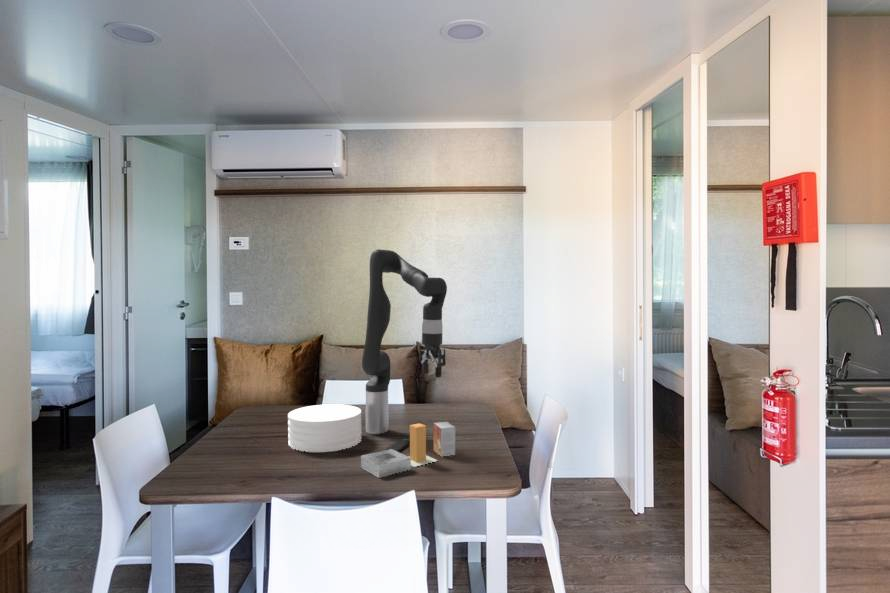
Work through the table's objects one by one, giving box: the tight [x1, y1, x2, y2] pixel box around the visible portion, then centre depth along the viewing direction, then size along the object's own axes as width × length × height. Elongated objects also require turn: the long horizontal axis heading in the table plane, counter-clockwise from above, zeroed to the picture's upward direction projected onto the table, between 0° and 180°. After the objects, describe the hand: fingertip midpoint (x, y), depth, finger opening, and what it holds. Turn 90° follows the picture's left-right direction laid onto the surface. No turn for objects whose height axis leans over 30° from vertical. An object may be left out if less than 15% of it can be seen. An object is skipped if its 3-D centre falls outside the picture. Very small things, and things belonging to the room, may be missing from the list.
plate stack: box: [287, 403, 363, 453], centre depth 212 cm, size 28×28×12 cm
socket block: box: [360, 449, 412, 479], centre depth 180 cm, size 12×12×4 cm
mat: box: [407, 454, 439, 468], centre depth 188 cm, size 10×10×1 cm
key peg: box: [409, 422, 427, 462], centre depth 187 cm, size 4×4×12 cm
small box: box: [433, 421, 456, 458], centre depth 195 cm, size 8×6×10 cm
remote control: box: [383, 434, 410, 453], centre depth 205 cm, size 5×24×1 cm, turn 161°
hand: (431, 375), depth 200 cm, fingers open, 8 cm apart
